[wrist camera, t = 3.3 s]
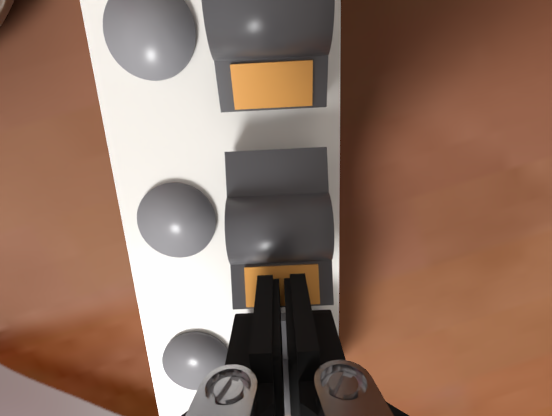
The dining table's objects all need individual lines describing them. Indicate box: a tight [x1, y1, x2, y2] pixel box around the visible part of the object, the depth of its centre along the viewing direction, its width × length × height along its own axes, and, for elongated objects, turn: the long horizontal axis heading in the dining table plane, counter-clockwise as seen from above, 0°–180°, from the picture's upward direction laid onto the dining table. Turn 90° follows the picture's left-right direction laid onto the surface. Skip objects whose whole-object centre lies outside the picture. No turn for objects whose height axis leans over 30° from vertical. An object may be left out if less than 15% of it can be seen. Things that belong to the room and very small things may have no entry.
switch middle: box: [225, 147, 334, 310], centre depth 12 cm, size 6×4×3 cm, turn 3°
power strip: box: [80, 0, 341, 416], centre depth 14 cm, size 32×9×4 cm, turn 3°
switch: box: [201, 0, 335, 112], centre depth 10 cm, size 6×4×3 cm, turn 3°
